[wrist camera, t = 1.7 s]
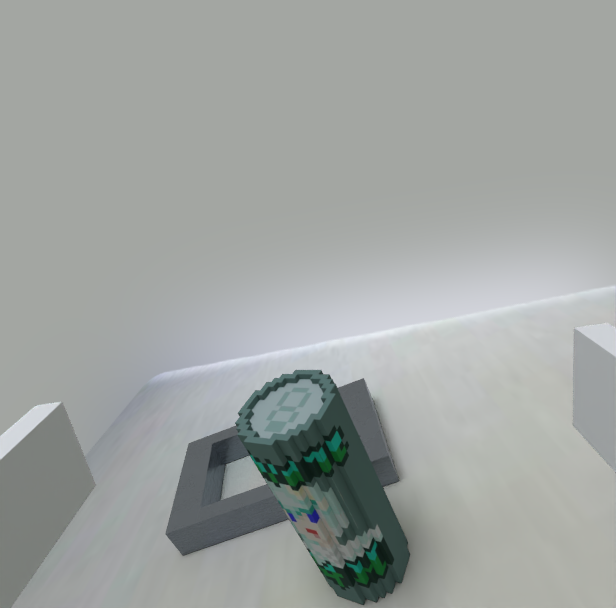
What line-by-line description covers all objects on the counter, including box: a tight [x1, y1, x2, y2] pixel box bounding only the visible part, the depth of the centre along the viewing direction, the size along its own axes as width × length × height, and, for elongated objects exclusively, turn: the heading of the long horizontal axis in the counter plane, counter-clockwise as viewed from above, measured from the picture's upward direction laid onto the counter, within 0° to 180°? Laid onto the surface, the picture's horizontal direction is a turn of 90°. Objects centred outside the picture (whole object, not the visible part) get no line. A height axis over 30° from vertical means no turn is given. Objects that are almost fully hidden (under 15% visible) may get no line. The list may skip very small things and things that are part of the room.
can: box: [235, 370, 410, 605], centre depth 29 cm, size 6×6×15 cm
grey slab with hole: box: [166, 378, 399, 555], centre depth 42 cm, size 20×11×3 cm, turn 95°
